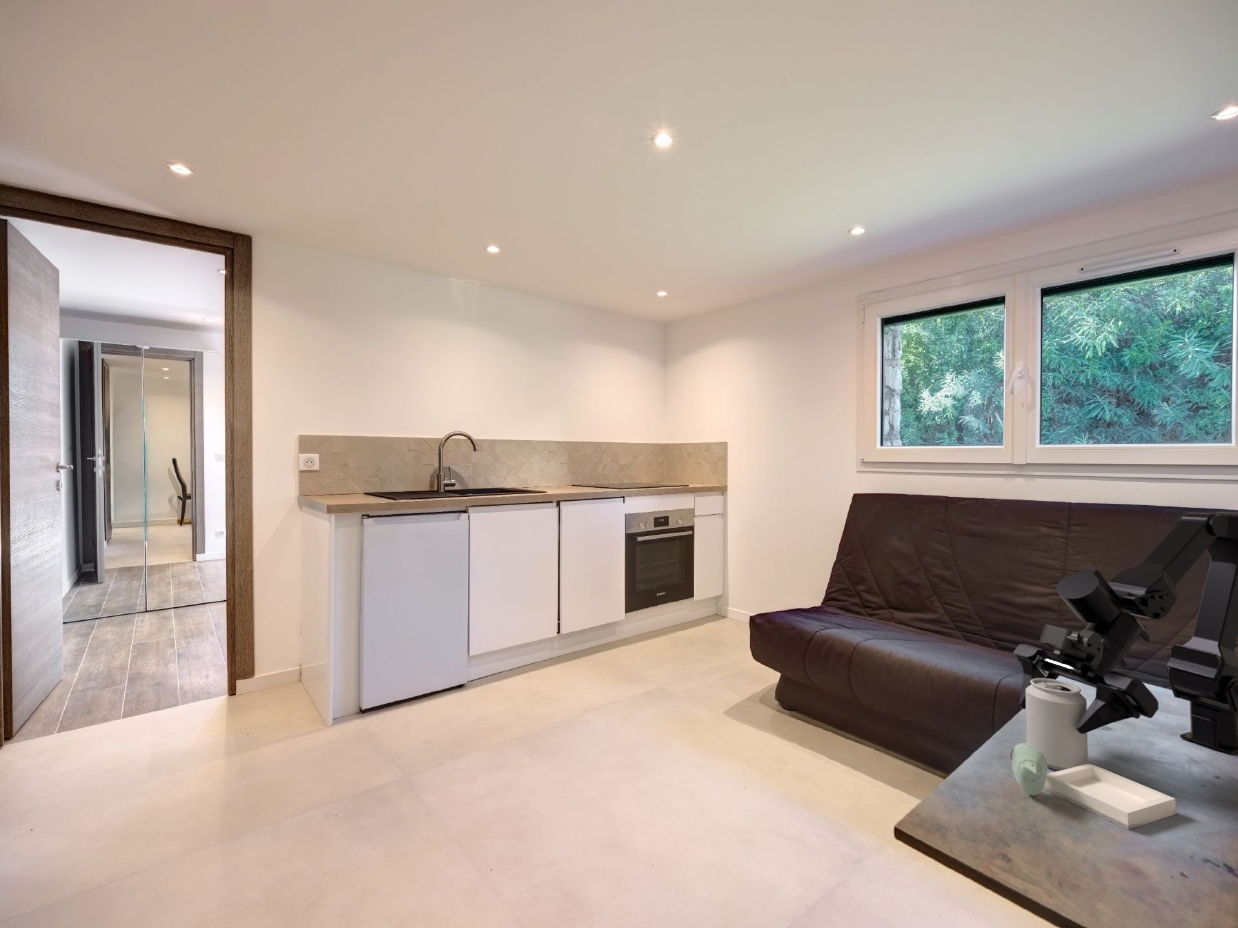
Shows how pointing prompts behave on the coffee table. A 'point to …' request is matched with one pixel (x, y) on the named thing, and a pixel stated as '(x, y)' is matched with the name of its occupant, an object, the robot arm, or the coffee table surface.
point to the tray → (1110, 795)
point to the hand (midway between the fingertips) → (1048, 718)
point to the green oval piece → (1029, 767)
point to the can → (1056, 722)
